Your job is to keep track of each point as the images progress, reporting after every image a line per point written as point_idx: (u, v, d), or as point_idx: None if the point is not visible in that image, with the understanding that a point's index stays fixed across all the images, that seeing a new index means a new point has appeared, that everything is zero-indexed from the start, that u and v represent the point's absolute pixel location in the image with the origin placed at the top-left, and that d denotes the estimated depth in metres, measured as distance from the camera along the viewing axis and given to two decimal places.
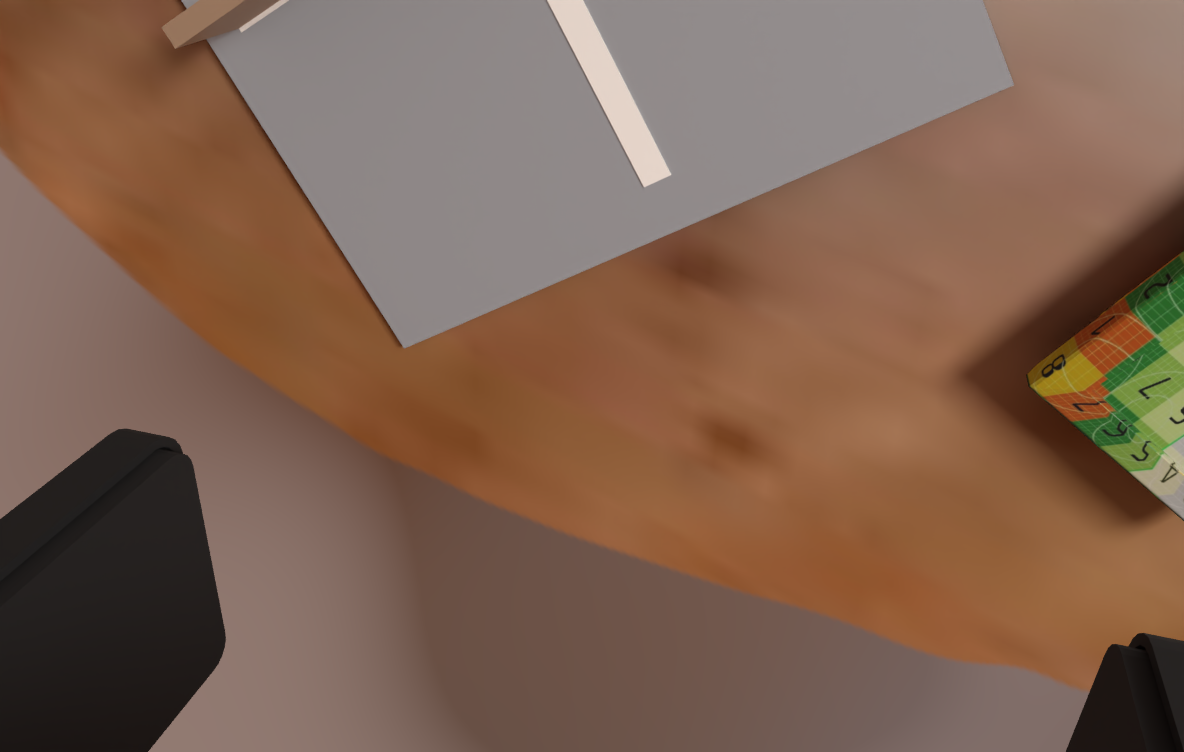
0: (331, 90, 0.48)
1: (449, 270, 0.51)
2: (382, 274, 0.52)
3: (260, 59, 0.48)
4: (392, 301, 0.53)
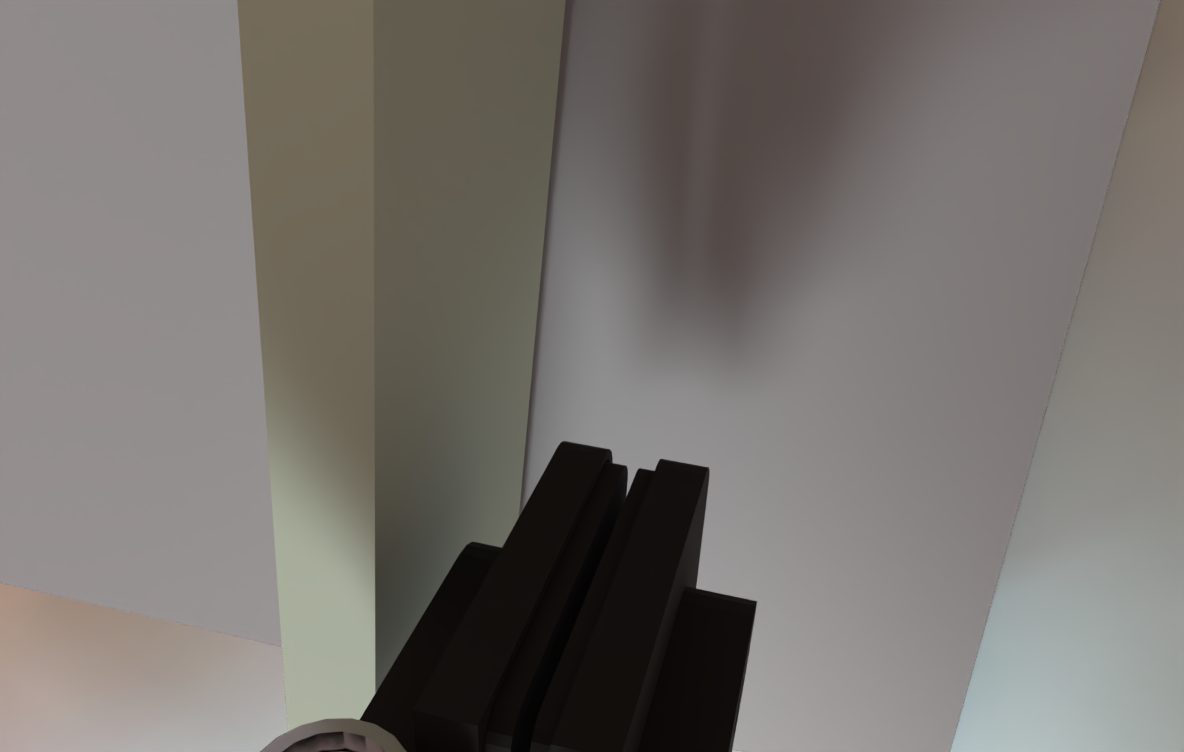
0: None
1: None
2: None
3: None
4: None
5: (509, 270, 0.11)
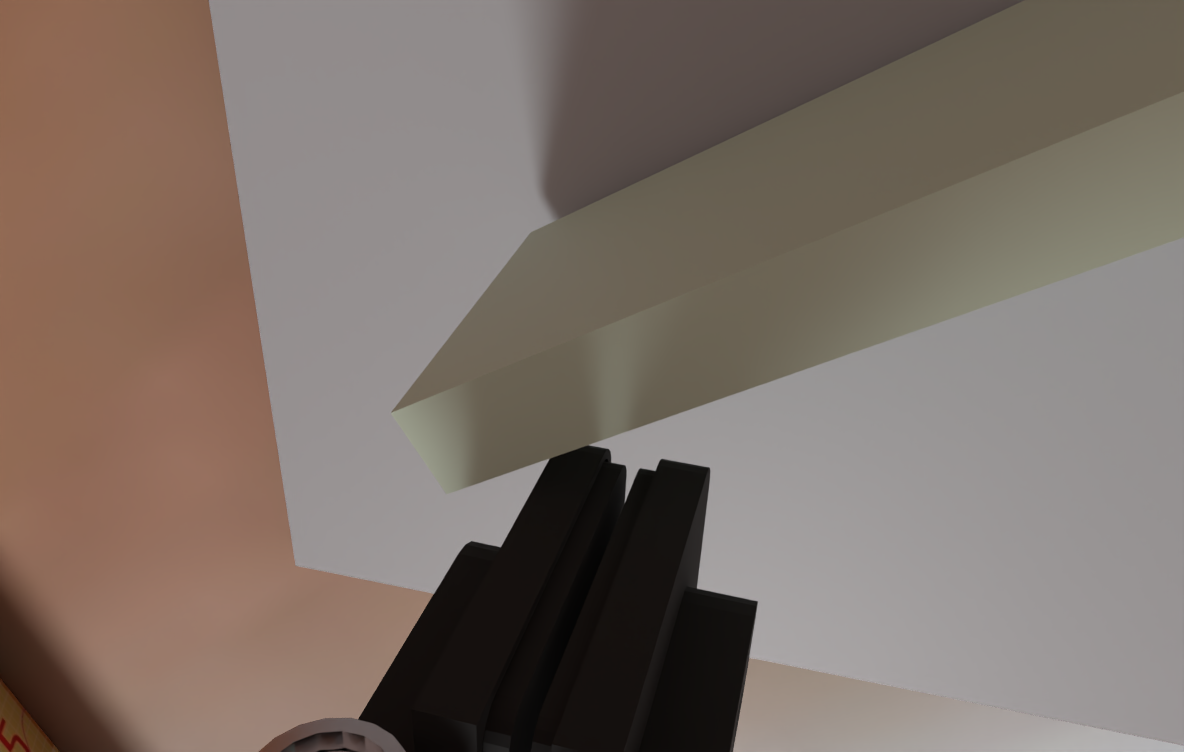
0: None
1: None
2: None
3: None
4: None
5: None
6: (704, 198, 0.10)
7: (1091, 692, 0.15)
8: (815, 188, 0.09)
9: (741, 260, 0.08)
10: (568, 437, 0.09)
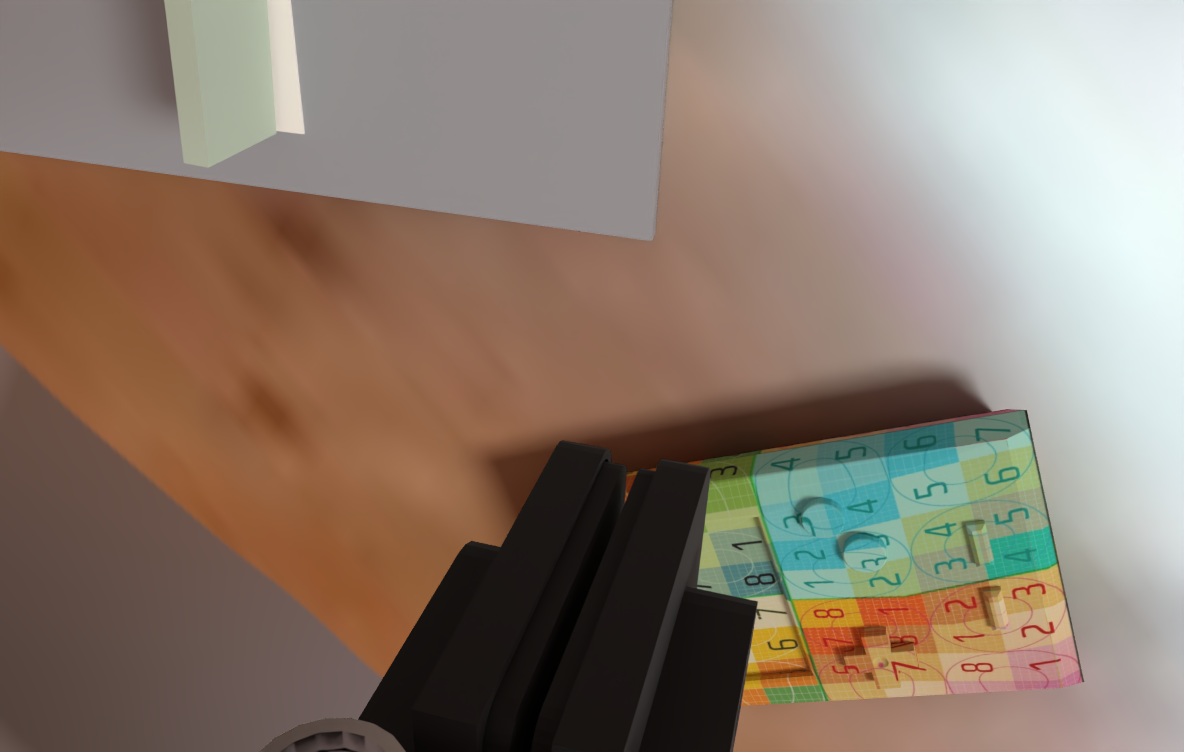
0: None
1: (32, 92, 0.42)
2: None
3: None
4: None
5: None
6: None
7: None
8: None
9: (175, 59, 0.34)
10: (200, 125, 0.35)
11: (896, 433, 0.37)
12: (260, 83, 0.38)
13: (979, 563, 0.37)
